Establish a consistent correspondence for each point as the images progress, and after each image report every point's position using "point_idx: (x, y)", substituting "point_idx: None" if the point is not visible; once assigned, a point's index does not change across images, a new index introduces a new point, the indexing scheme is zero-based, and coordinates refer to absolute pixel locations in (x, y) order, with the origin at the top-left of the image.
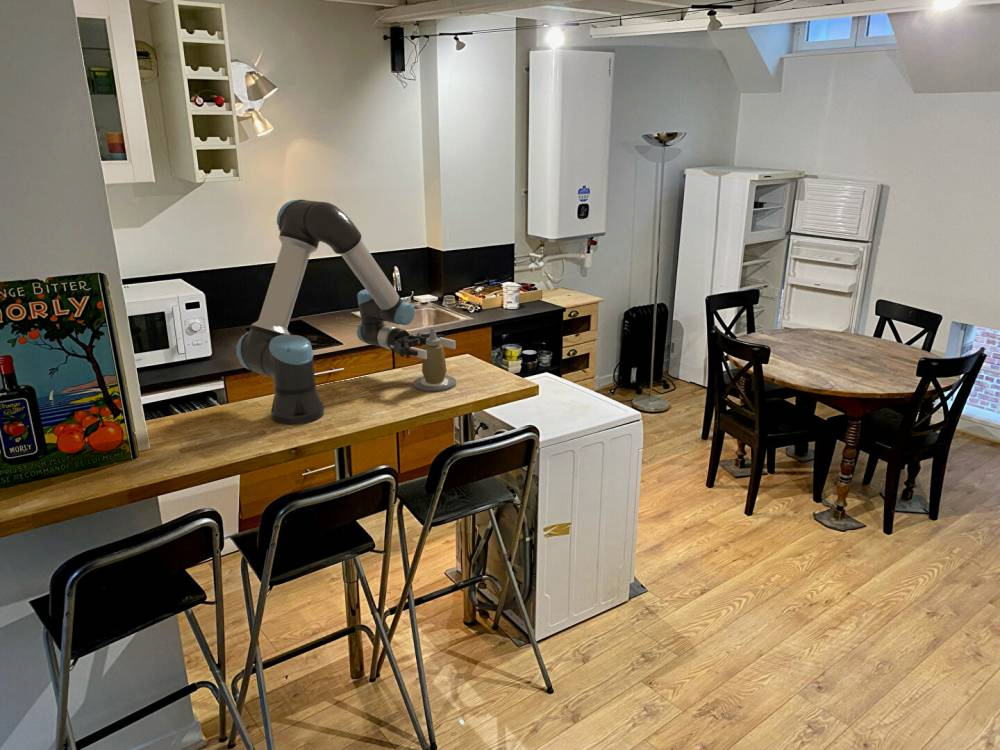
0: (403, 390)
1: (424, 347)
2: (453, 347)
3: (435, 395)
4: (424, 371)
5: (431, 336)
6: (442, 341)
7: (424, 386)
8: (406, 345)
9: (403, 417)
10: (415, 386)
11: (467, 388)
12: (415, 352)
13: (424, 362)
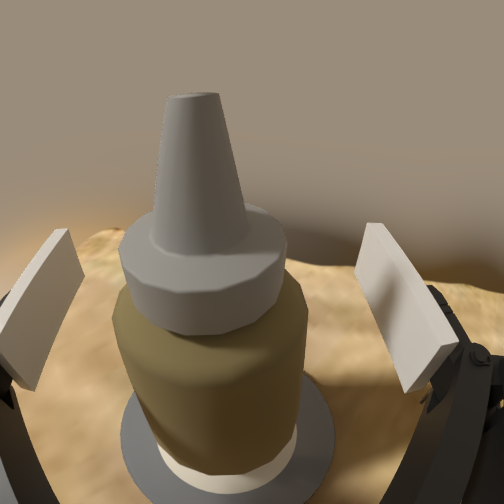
0: (384, 470)
1: (293, 331)
2: (79, 272)
3: (316, 348)
4: (298, 409)
5: (239, 183)
6: (25, 333)
7: (309, 417)
8: (464, 442)
9: (459, 291)
10: (332, 455)
11: None
12: (428, 288)
13: (300, 385)
